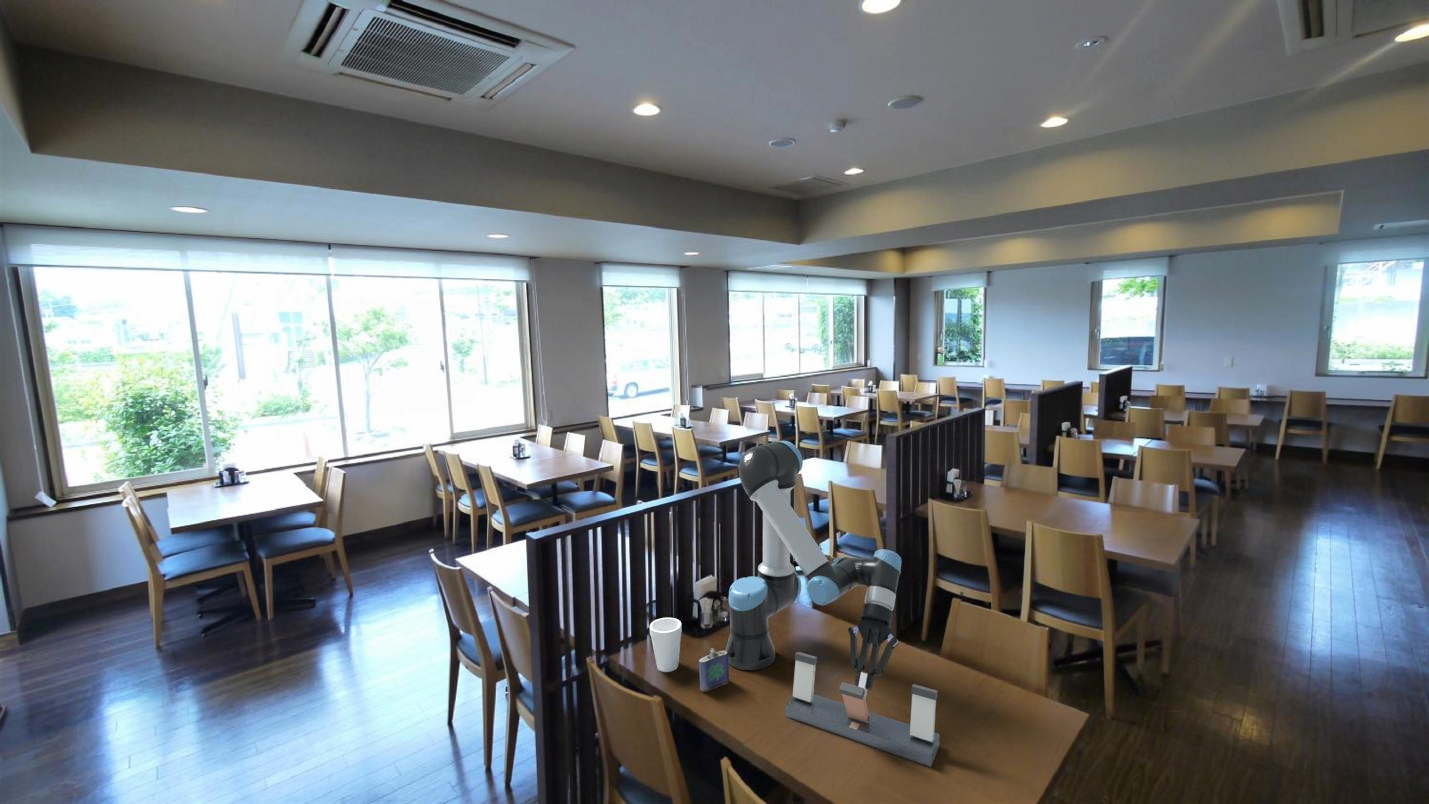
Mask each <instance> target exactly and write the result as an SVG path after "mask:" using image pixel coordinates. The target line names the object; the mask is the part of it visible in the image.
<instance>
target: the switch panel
mask: <svg viewBox="0 0 1429 804" xmlns="http://www.w3.org/2000/svg"><path fill="white" fill-rule="evenodd" d="M784 706H785V707H784V708H785V717H786V718H789V719H792V720H795V721H798V722H801V723H804V724H807V725H809V726H813V727H815V728H818V729H821V730H824V731H827V732H829V733H833V734H835V735H838V736H840V737H845V738H846V739H850V740H852V741H855V742H858V743H860V744H864V745H867V746H870V747H872V748H875V749H878V750H881V751H884V752H886V753H890V754H892V755H895V756H898V757H900V758H904V759H907V760H910V761H912V762H916V763H919V764H921V765H923V766H927V767H930V768H932V766H933V762H934V761H935V758H936V755H937V753H938V751H939V748H940V733H938V732H935V731H934V740H933V742H931V741H928V740H924V739H921V738H918V737H915V736H912V735H910V723H905V722H903V721H899V720H897V719H893V718H890V717H887V716H884V715H881V714H879V713H875V712H871V711H869V710H868V712H869V716H870V718H869V721H868V723H866V722H863V721H860V720H857V719H854V718H851V717H848V715H847V711H846V707H845V704H844V703H842V702H840V701H838V700H837V701H836V700H833V699H830V698H827V697H825V696H821V695H818V694H814V693H813V701H812V702H808V701H805V700H802V699H799V698H796V697H793V696H791V698H790V700H788V702H787V703H786V704H785V705H784Z"/></svg>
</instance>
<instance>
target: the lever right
mask: <svg viewBox="0 0 1429 804" xmlns="http://www.w3.org/2000/svg"><path fill="white" fill-rule="evenodd" d="M910 693H911V707H910V709H911V712H910V723H909V724H910V735H912V736H915V737H918V738H921V739H924V740H928V741H931V742H933V740H934V732H935V725H936V723H935V722H936V710H937V709H936V705H937V699H938V690H936V689H932V688H930V687H926V686H923V685H919V684H915V683H913V684H912V685H911V691H910Z"/></svg>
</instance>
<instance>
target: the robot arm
mask: <svg viewBox="0 0 1429 804" xmlns="http://www.w3.org/2000/svg"><path fill="white" fill-rule="evenodd" d="M796 446H797V445H795V444H793V443H792V442H791V441H788V440H780V441H779V440H778V441H775V440H774V441H772V442H769V443H765V444H762V445H756V446H753V447H751V448H749V449H747V450H746V451H745V452H744V453H743V454H742V456H741V458H740V461H739V464H738V475H739V479H740V483H741V485H742V488H743V490H744V492H745V493H746V494H747V496H748V498H749V499H750V501H753V502H756V503H757V505H758V507H759V508H760V510H761V511H762V562H761V563H760V564H759V565H758V566H757V576H752V575H751V576H747V577H740V578H738V579H736V580H735V581H733V583H731V585H730V587H729V590H728V599H727V600H728V607H729V608H728V609H729V610H728V611H729V626H730V627H729V629H730V631H729V637H728V640H727V644H726V647H725V651H727V652H728V662H729V664H728V665H730V666H731V667H733V668H736V669H738V670H743V671H759V670H763V669H765V668H767V667H769V666H771V665H772V664H773V663H774V662H775V659H776V649H775V646H774V644H773V640H772V638H771V636H770V632H769V618H770V617H772V616H774V615H776V614H777V613H779V612H781V611H783V610H784V609H786V608H788V607H790V606H792V605H793V604H794V603H795V602H796V601H797V600H798V599H799V598H800V595H801V592H802V583H801V582H802V580H801V578H800V577H799V574H798V573H797V571H796V570H795V567H794V565H793V564H792V563H791V562H790V561H791V559H790V558H791V556H792V558H793V559H794V561H795V562H796V563H797V565H798V566H799V568H800V570H801V571H802V572H803V574H804V575H805V577H806V578H807V580H808V582H807V584H806V591H807V593H808V594H807V595H808V596H809V599H810V600H811V601H812V602H813V603H814V604H816V605H818V606H826V605H829V604H830V603H832V602H836V600H838V599H839V598H841V597H842V596H843V595H845V594H847V593H848V592H850V591H852V590H853V589H854V588H856V587H867V589H866V593H865V597H864V603H865V604H864V605H863V607H862V612H861V617H860V621H859V622H858V623H857V626H854V627H851V626H850V627H848V628H847V631H848V634H849V638H850V667H852V669H853V670H855V671H856V675H855V680H854V684H855V686H858V687H861V688H864V691H865V694H864V695H865V700H866V698H867V693H868V691H869V690H870V691H871V690H872V689H873V684H874V678H875V677H878V676H879V677H882V676H883V674H884V671H885V670H886V667H887V665H888V662H889V660H890V658H891V656H892V653H893V651H894V649H896V647H898V645H899V640H898V639H897V636H896V637H895V636H894V635H893V634H892V630H891V625H892V619H893V615H894V613H893V610H894V609H895V602H896V598H897V597H896V596H897V589H898V585H899V580H900V575H901V573H902V571H901V569H902V568H901V567H902V558H901V555H899V554H898V553H897V552H895V551H893V550H890V549H884V548H880V549H878V550H875V551H874V554H873V556H872V557H870V558H869V557H868V558H867V557H866V558H864V557H850V556H844V557H836V558H835V559H833V561H832V563H830V561H829V560H828V558H827V557H826V555H825V554H824V552H823V551H822V549H821V548H820V546H819V545H818V543H817V542H816V541H815V539H814V537H812V535H811V533H810V532H809V531H808V529H807V527H806V526H805V525H804V523H803V522H802V520H801V518H800V517H799V516H798V514H797V513H796V511H795V510H794V508H793V506H791V491H792V490H793V489H794V488H795V487H796V476H797V475H799V473H800V472H801V471H802V469H803V463H804V462H803V456H802V454H801V451H800V450H799V449H798V448H797V447H796ZM859 633H860V636H861V639H862V643H861V649H860V652H859V657H858V638H857V637H858V636H859ZM886 640H887V644H886V645H885V646H884V647H885V648H884V650H883V652H882V654H881V657H880V658H879V654H880V650H881V646H882V644H884V643H885V641H886ZM870 648H871V650H870ZM869 650H870V651H871V652H870V657H869V663H868V669H867V670H866V665H867V660H868V656H869ZM878 659H879V661H878ZM865 671H867V672H865ZM866 701H867V700H866Z"/></svg>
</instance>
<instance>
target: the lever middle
mask: <svg viewBox="0 0 1429 804" xmlns="http://www.w3.org/2000/svg"><path fill="white" fill-rule="evenodd" d="M840 683H841V684H840V685H839V692H840V694H841V696H842V700H843V702H844V703H843V704H845V707H846V711H847V715H848V717H851V718H854V719H857V720H860V721H863V722H866V723H868V721H869V718H870V716H869V712H870V711H869V709H868V704H867V700H865V695H864V694H865V691H864V688H861V687H858V686H856V685H854V684H851V683H848V682H844V681H841V682H840ZM868 711H869V712H868Z"/></svg>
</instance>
